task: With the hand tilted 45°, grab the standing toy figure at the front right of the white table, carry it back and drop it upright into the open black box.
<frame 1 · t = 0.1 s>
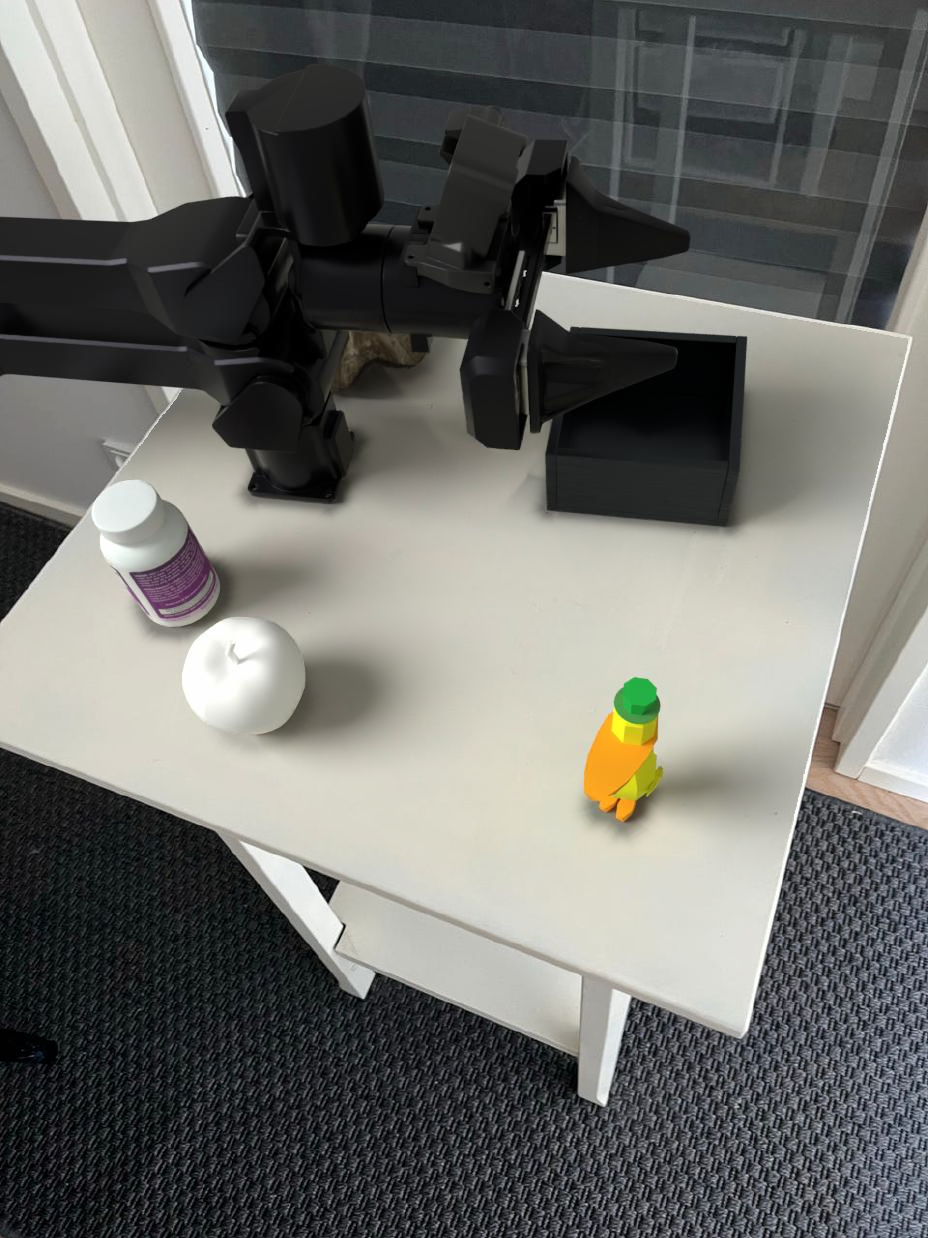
hand: (683, 296, 49), 17 cm above the table, tool horizontal, fingers open, 9 cm apart
plain white apple: (264, 705, 57), on the table
toy figure: (617, 804, 52), on the table
open black box: (643, 452, 65), on the table
brown irregular lump: (368, 364, 73), on the table
pill bottle: (184, 597, 62), on the table
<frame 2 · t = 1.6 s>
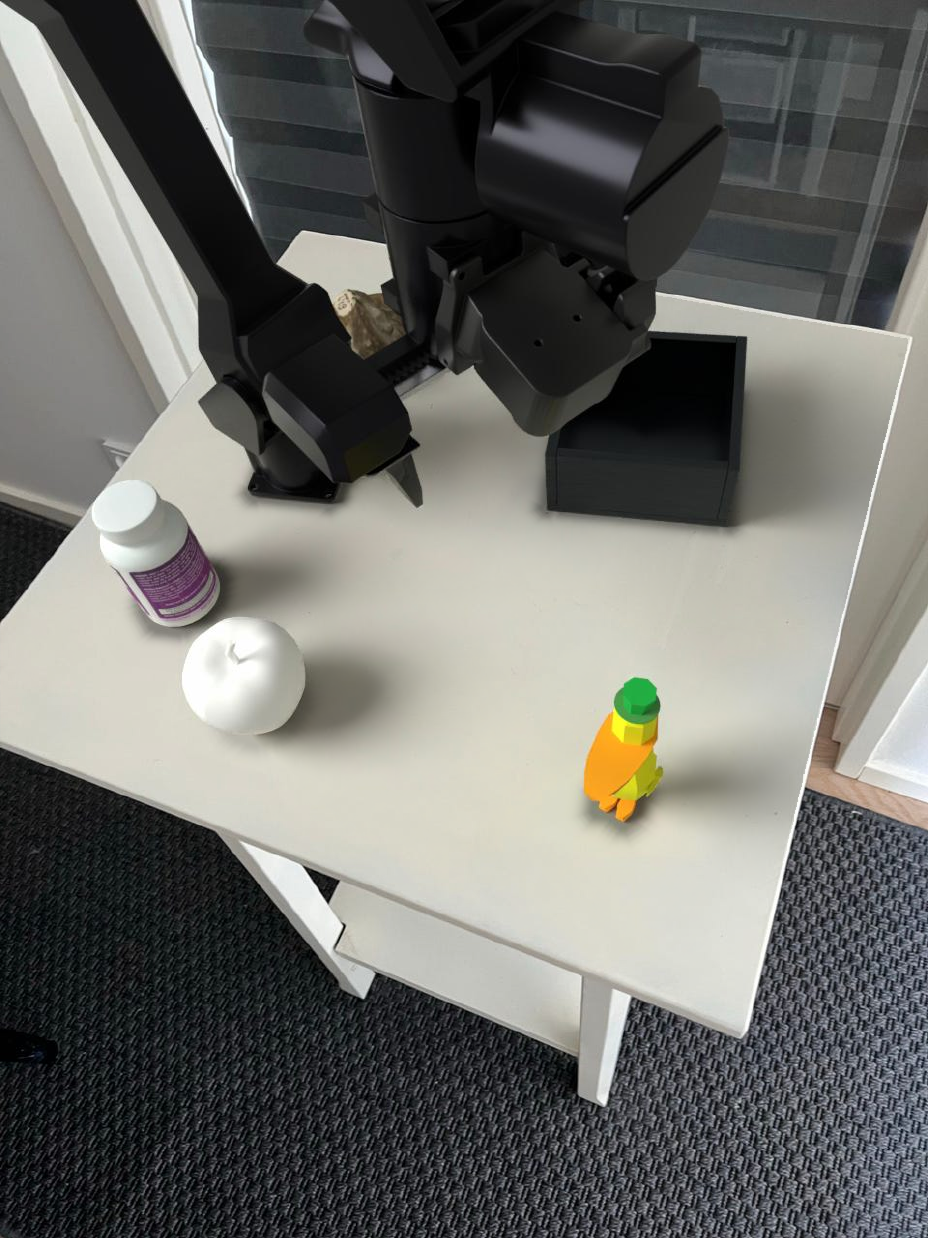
hand: (484, 455, 49), 13 cm above the table, tool pointing down, fingers open, 9 cm apart
nothing on the table moved.
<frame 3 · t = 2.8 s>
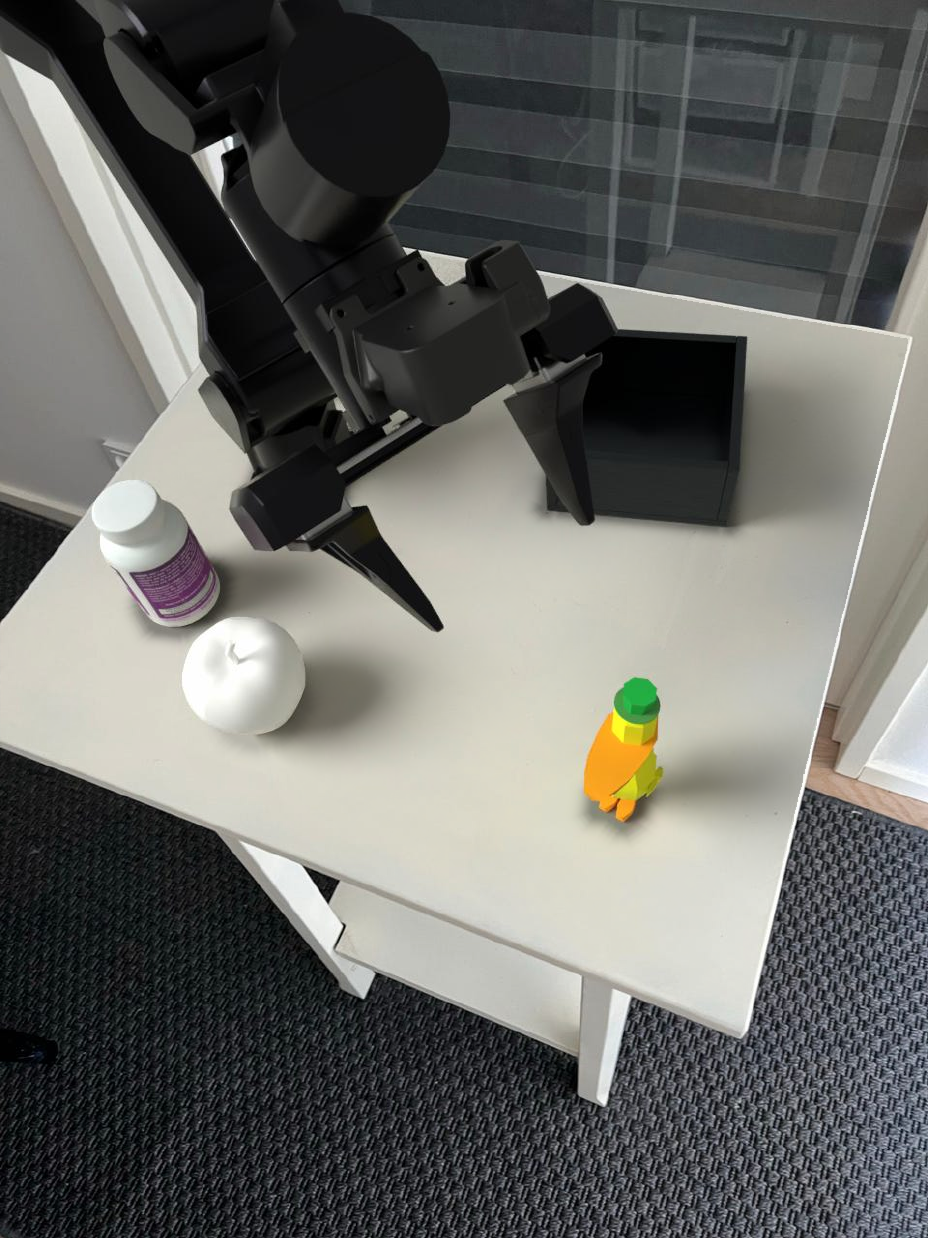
hand: (515, 575, 44), 13 cm above the table, tool tilted 45°, fingers open, 9 cm apart
nothing on the table moved.
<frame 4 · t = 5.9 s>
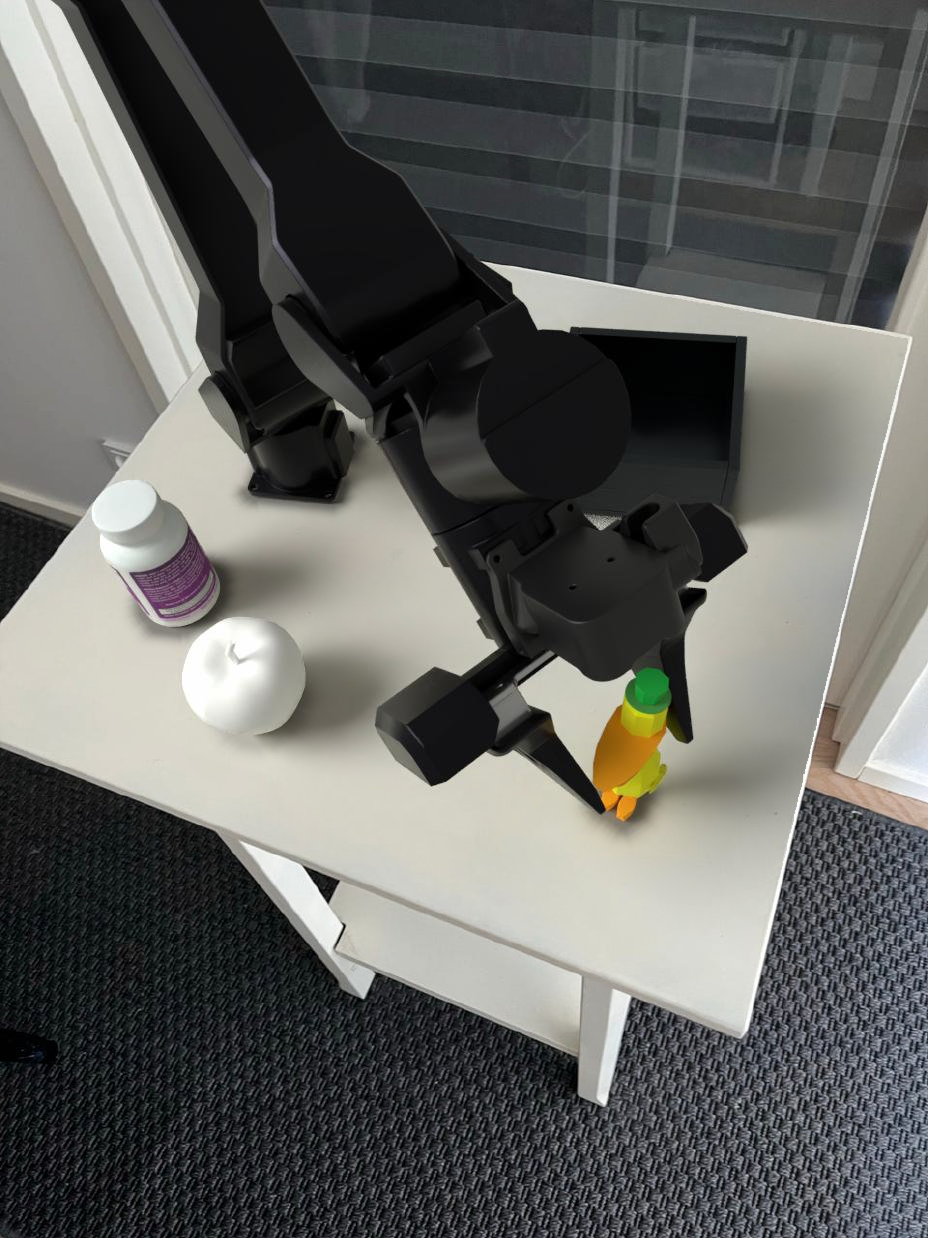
hand: (642, 775, 45), 7 cm above the table, tool tilted 45°, fingers closed on toy figure, 5 cm apart
toy figure: (617, 804, 52), on the table, touching gripper
everything else where it was.
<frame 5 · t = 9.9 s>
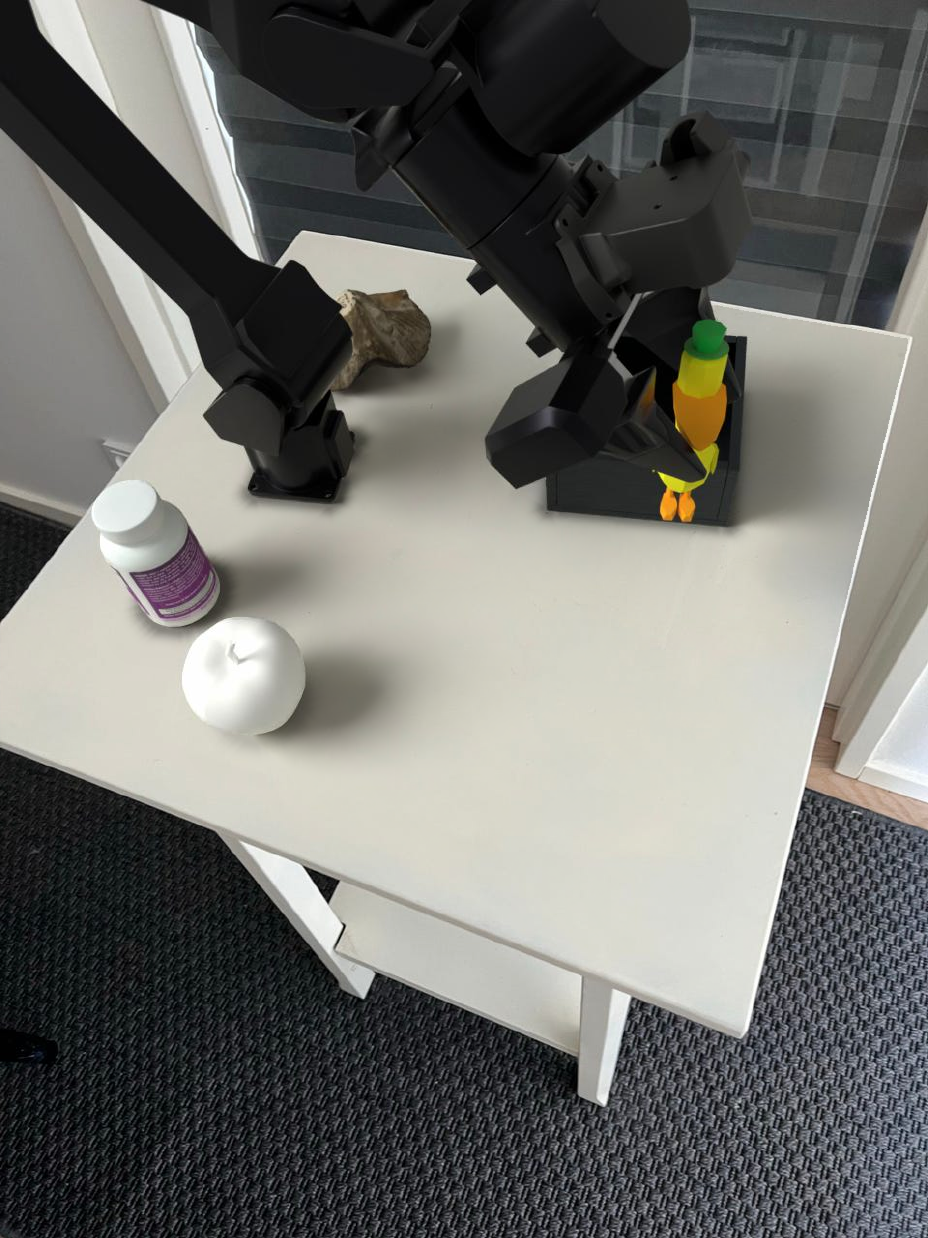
hand: (716, 438, 47), 13 cm above the table, tool tilted 45°, fingers closed on toy figure, 5 cm apart
toy figure: (675, 513, 54), point 7 cm above the table, touching gripper
everything else where it was.
when the fingers open (7 cm above the table, at t = 13.9 s): toy figure stays where it is, resting on open black box.
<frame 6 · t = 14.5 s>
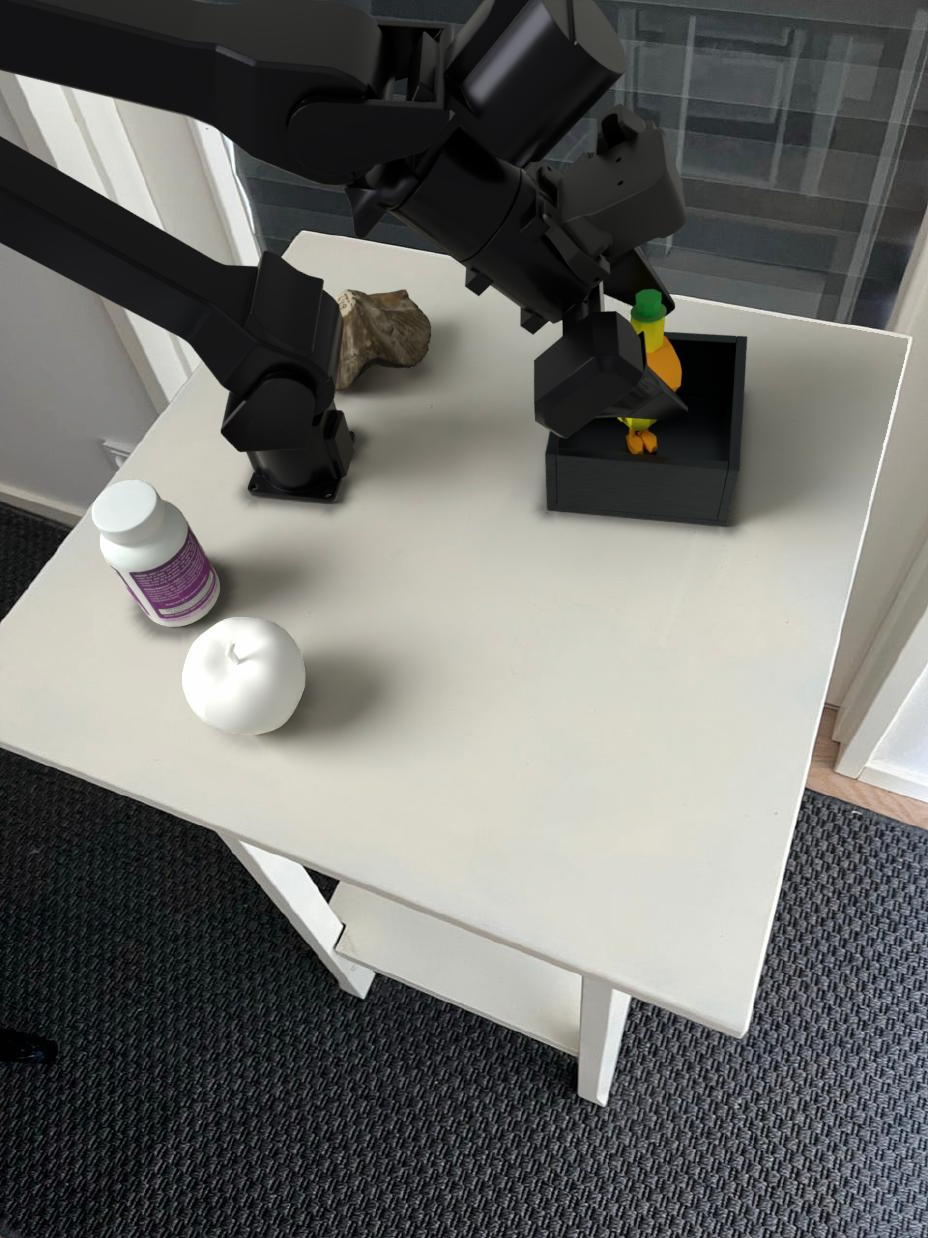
hand: (675, 360, 58), 8 cm above the table, tool tilted 45°, fingers open, 9 cm apart
toy figure: (641, 447, 65), resting on open black box
everything else where it was.
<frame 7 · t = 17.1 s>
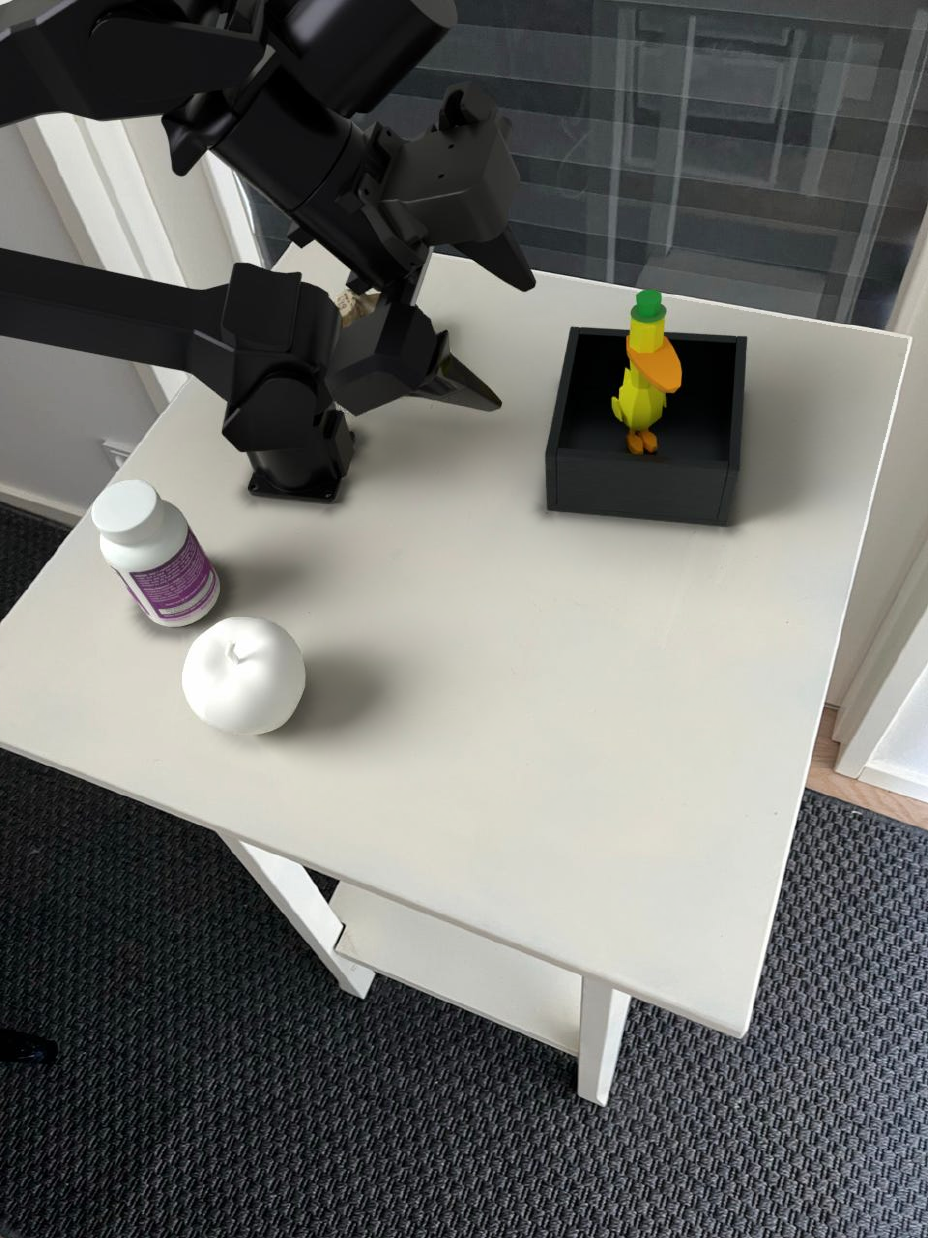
hand: (514, 346, 57), 10 cm above the table, tool tilted 40°, fingers open, 9 cm apart
nothing on the table moved.
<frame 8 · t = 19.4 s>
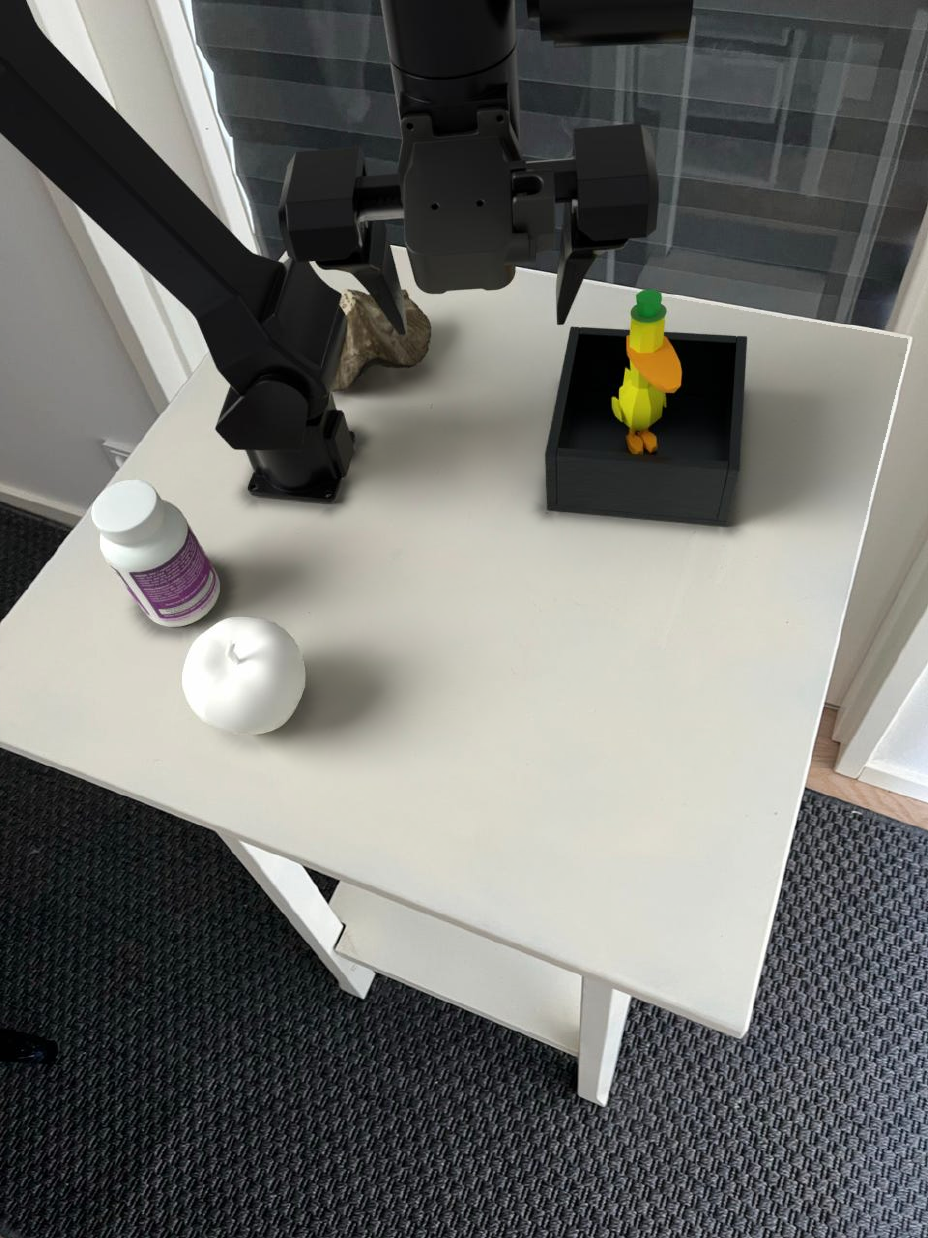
hand: (481, 325, 54), 13 cm above the table, tool pointing down, fingers open, 9 cm apart
nothing on the table moved.
at the end: toy figure inside the target area in the open black box (0.2 cm from its centre), point 0.4 cm above the open black box's base; the gripper is holding nothing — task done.
